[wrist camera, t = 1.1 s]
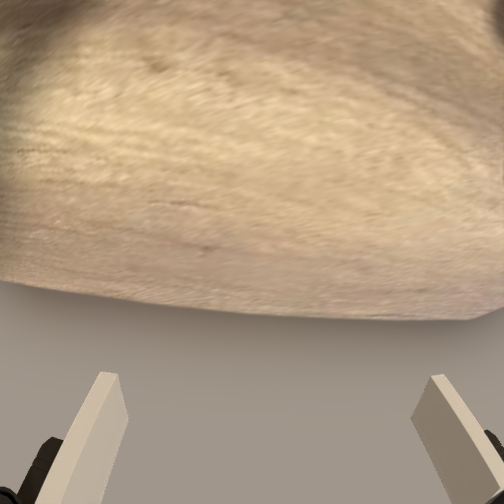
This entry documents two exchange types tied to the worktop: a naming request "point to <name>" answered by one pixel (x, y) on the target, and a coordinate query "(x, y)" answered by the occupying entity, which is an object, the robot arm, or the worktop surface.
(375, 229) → the worktop surface
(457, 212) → the worktop surface
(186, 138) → the worktop surface
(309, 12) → the worktop surface
